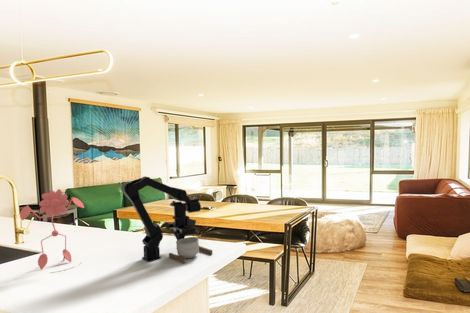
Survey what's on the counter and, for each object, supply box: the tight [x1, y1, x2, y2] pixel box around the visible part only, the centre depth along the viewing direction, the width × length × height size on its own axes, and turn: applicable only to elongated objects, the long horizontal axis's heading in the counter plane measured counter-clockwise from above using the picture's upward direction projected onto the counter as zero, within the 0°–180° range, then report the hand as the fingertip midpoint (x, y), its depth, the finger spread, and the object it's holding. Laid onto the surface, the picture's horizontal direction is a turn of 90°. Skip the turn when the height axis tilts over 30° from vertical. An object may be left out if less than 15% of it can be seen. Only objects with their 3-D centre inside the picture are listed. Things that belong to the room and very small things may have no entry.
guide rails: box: [168, 245, 213, 264], centre depth 166 cm, size 17×12×2 cm
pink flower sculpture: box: [19, 188, 85, 274], centre depth 154 cm, size 15×26×35 cm, turn 132°
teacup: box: [175, 236, 200, 259], centre depth 166 cm, size 14×11×8 cm
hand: (181, 245), depth 171 cm, fingers closed
